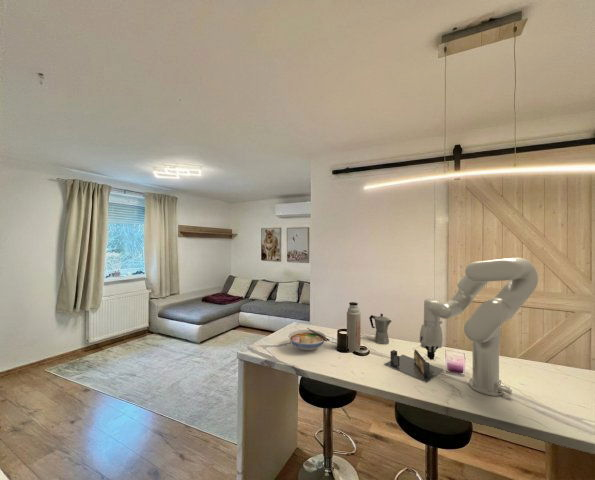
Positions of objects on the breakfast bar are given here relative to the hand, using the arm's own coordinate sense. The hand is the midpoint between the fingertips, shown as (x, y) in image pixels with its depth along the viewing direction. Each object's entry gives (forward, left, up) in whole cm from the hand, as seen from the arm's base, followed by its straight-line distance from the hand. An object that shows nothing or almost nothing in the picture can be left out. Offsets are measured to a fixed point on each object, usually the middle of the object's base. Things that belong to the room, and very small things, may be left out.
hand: (430, 358), depth 134 cm
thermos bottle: (+38, +15, -4) cm, 41 cm away
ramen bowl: (+57, +35, -4) cm, 67 cm away
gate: (+2, +7, -3) cm, 8 cm away
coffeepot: (+36, -9, -4) cm, 37 cm away
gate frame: (+5, +8, -4) cm, 10 cm away
